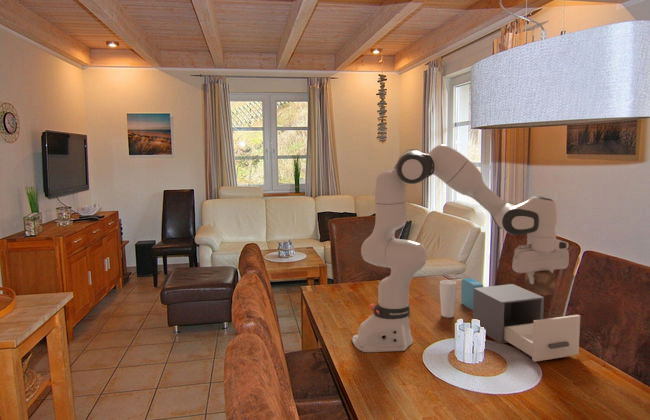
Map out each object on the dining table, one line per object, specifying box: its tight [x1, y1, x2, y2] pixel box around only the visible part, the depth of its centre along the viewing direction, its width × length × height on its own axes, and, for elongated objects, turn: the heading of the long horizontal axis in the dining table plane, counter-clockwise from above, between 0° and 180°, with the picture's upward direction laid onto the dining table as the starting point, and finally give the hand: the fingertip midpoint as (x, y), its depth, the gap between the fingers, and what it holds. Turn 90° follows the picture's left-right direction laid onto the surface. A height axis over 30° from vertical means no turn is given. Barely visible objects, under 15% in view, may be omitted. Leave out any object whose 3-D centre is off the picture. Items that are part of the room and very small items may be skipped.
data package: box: [460, 277, 484, 312], centre depth 204 cm, size 12×4×12 cm, turn 10°
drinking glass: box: [439, 279, 457, 319], centre depth 194 cm, size 7×7×15 cm
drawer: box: [504, 314, 581, 362], centre depth 158 cm, size 17×19×14 cm
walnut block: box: [524, 271, 557, 296], centre depth 157 cm, size 4×10×7 cm, turn 14°
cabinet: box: [472, 283, 545, 344], centre depth 176 cm, size 18×18×16 cm
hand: (539, 282), depth 157 cm, fingers closed on walnut block, 4 cm apart
